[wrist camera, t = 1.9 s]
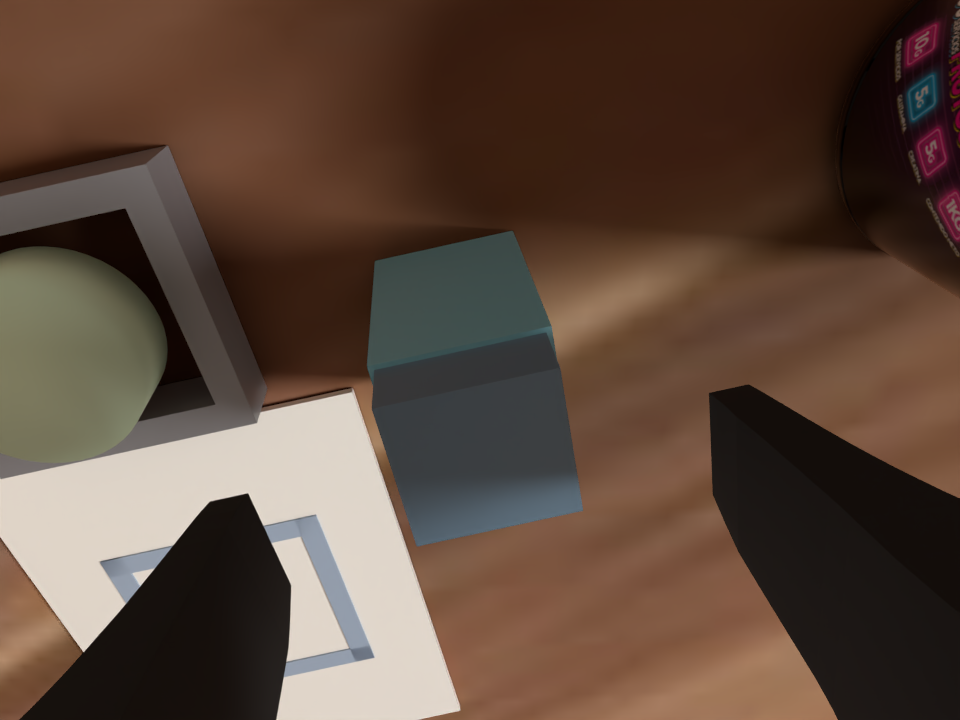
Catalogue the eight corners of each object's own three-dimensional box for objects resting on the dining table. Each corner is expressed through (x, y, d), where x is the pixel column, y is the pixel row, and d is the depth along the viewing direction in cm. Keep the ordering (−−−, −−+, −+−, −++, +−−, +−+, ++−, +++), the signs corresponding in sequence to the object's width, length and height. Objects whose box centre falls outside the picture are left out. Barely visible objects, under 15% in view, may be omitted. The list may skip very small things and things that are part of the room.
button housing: (267, 388, 18) (256, 423, 16) (29, 440, 18) (0, 479, 16) (167, 145, 15) (145, 164, 13) (-118, 209, 15) (-168, 233, 13)
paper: (459, 705, 24) (460, 711, 24) (172, 766, 25) (169, 774, 24) (352, 387, 18) (352, 393, 18) (-39, 473, 18) (-44, 479, 18)
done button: (197, 396, 16) (178, 439, 15) (21, 435, 16) (-15, 480, 15) (117, 226, 14) (85, 256, 13) (-85, 270, 14) (-137, 306, 13)
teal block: (534, 350, 18) (589, 513, 13) (408, 378, 18) (412, 551, 13) (512, 230, 16) (565, 361, 11) (375, 260, 16) (363, 405, 11)
